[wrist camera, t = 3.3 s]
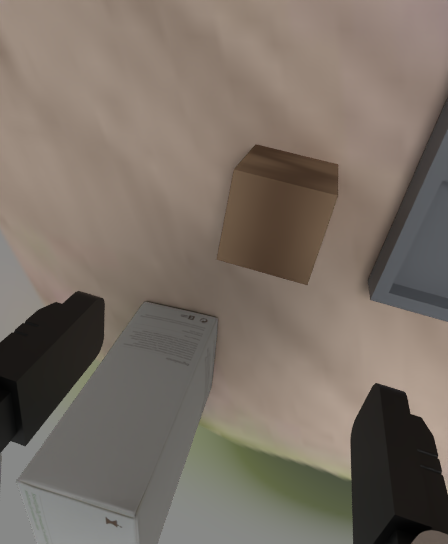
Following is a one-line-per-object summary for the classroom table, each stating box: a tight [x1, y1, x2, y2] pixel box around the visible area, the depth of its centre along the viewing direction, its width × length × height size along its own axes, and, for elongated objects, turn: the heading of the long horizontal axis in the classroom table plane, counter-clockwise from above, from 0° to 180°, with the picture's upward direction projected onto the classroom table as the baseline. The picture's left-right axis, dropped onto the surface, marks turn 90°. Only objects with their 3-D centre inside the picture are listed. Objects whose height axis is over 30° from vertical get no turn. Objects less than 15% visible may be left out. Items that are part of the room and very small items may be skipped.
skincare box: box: [16, 302, 218, 544], centre depth 27 cm, size 8×7×16 cm
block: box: [217, 145, 338, 285], centre depth 22 cm, size 5×5×6 cm
